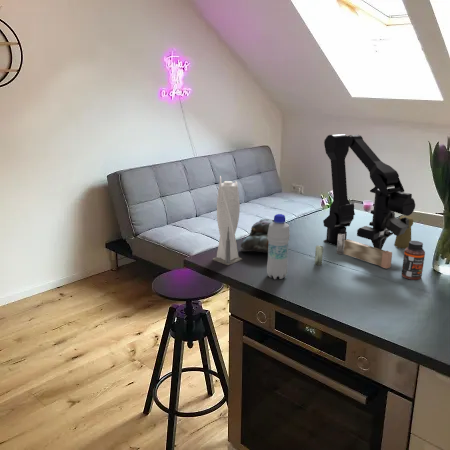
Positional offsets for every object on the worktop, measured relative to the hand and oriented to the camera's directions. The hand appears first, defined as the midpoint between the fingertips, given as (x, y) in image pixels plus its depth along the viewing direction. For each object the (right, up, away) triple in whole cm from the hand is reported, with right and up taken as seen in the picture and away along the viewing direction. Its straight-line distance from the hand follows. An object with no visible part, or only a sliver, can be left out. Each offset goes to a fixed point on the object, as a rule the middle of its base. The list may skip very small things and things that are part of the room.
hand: (378, 252), depth 170 cm
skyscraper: (-51, -2, 0) cm, 51 cm away
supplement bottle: (+7, -7, -13) cm, 16 cm away
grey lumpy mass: (-39, 0, +7) cm, 40 cm away
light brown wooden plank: (-4, -2, -1) cm, 5 cm away
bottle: (-35, -7, -14) cm, 38 cm away
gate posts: (-16, -2, +2) cm, 16 cm away
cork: (+13, +2, +15) cm, 20 cm away
